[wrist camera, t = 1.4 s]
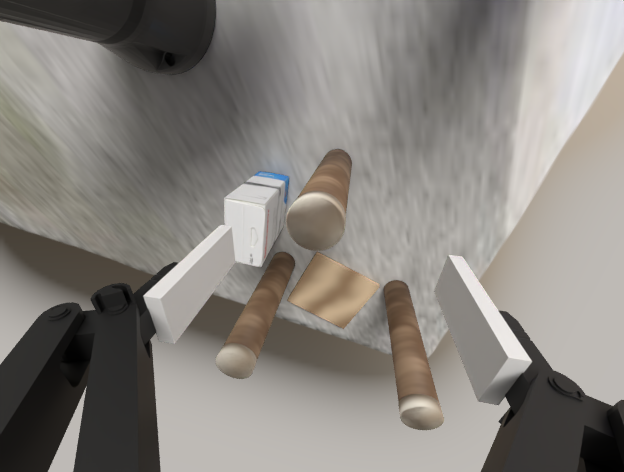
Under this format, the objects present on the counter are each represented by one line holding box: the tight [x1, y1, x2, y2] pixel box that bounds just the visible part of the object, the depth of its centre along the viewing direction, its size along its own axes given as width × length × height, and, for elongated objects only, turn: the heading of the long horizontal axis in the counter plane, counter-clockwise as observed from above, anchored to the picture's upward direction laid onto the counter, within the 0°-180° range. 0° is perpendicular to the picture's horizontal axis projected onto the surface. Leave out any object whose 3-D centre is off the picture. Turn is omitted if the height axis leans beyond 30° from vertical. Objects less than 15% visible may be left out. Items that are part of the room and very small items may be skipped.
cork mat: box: [287, 252, 379, 329], centre depth 45 cm, size 12×12×1 cm
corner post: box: [384, 280, 444, 430], centre depth 34 cm, size 4×4×20 cm
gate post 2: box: [286, 149, 352, 251], centre depth 26 cm, size 4×4×20 cm
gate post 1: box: [215, 252, 295, 379], centre depth 35 cm, size 4×4×20 cm
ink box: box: [224, 171, 289, 267], centre depth 34 cm, size 9×5×12 cm, turn 171°
